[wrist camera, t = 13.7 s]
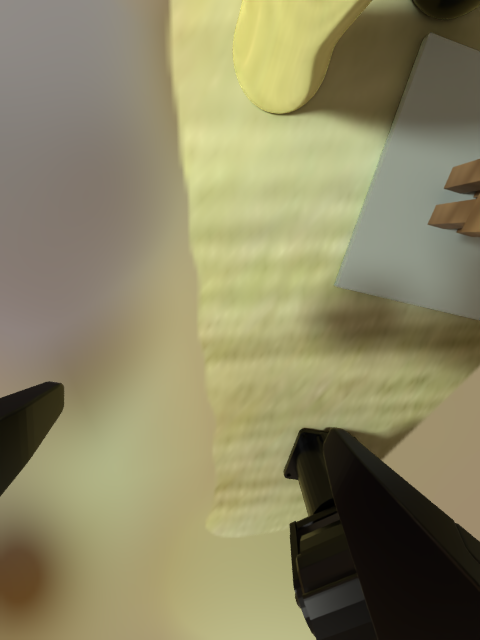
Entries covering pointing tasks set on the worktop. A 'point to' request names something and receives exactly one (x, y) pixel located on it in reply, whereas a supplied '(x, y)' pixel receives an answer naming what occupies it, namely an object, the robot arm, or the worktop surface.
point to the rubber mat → (422, 190)
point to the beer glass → (288, 48)
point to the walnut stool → (461, 202)
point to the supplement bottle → (446, 7)
